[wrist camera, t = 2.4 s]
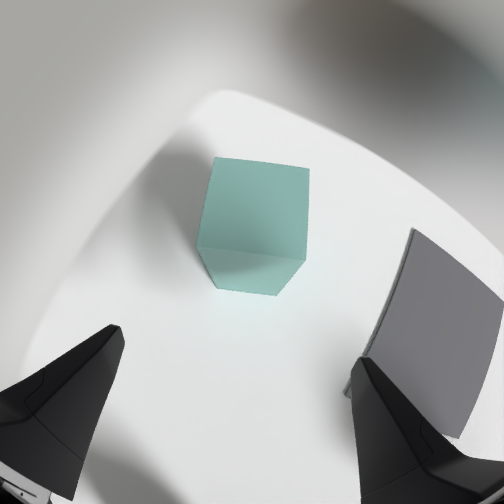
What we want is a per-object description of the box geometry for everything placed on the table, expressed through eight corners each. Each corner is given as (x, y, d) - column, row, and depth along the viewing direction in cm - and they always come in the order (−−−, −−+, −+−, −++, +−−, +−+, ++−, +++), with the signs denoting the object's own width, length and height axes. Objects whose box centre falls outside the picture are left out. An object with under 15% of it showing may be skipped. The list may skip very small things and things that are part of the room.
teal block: (276, 295, 23) (305, 260, 12) (217, 288, 23) (195, 246, 12) (281, 240, 24) (309, 168, 14) (225, 233, 24) (214, 157, 14)
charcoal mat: (457, 438, 18) (458, 438, 17) (344, 395, 20) (345, 395, 20) (503, 303, 23) (504, 302, 22) (414, 230, 25) (415, 229, 25)
